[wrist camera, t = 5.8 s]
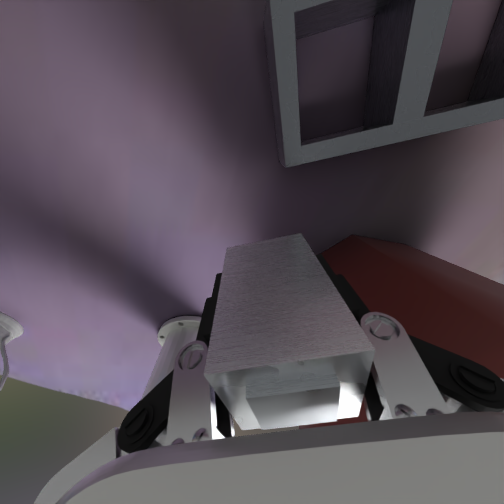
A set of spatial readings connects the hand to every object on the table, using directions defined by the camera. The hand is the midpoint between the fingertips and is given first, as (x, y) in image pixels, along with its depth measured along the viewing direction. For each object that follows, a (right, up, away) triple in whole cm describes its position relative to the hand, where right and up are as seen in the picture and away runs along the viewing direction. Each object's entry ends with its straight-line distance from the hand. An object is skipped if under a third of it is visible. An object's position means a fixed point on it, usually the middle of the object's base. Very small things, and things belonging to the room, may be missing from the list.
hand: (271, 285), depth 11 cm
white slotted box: (0, +1, +1) cm, 1 cm away
